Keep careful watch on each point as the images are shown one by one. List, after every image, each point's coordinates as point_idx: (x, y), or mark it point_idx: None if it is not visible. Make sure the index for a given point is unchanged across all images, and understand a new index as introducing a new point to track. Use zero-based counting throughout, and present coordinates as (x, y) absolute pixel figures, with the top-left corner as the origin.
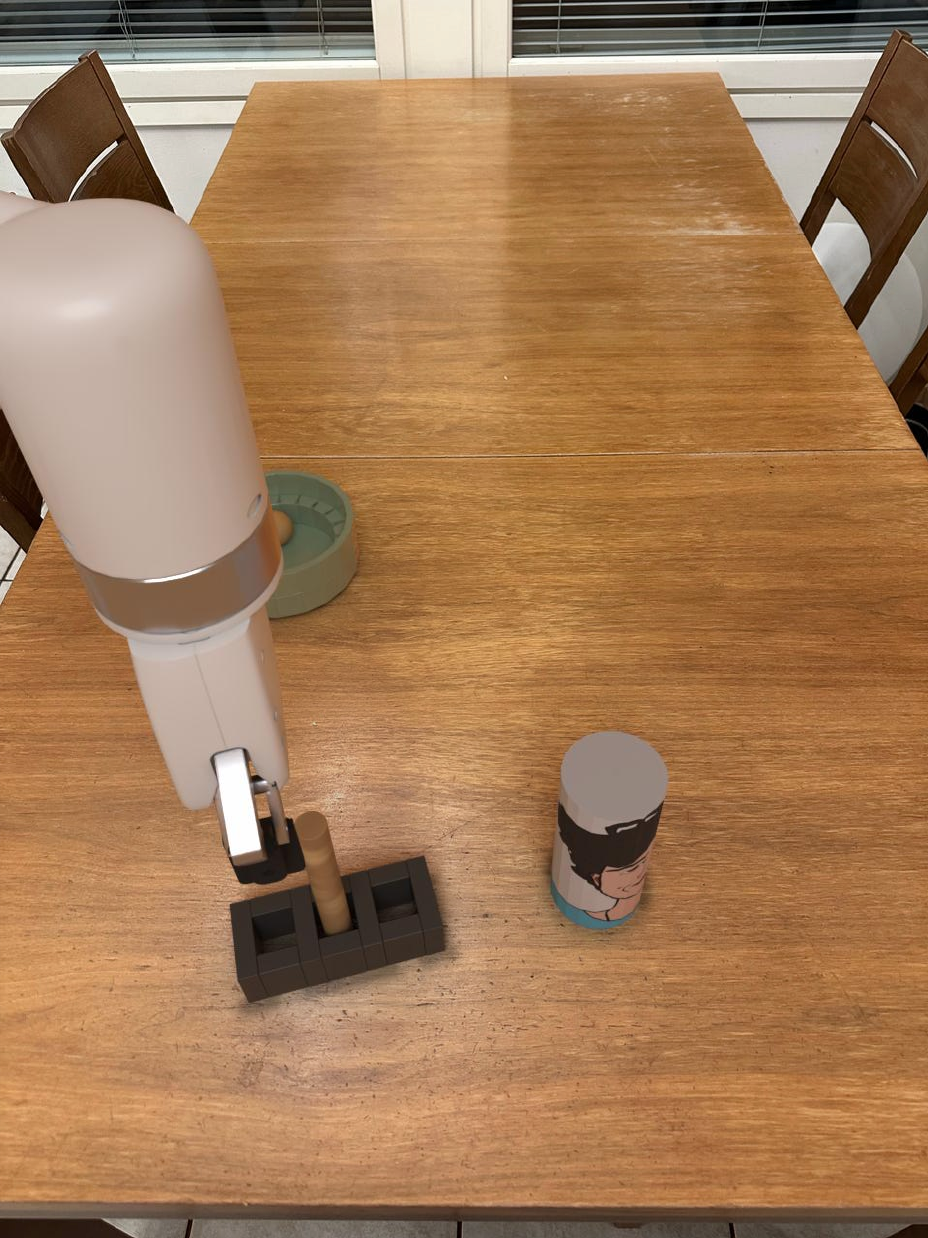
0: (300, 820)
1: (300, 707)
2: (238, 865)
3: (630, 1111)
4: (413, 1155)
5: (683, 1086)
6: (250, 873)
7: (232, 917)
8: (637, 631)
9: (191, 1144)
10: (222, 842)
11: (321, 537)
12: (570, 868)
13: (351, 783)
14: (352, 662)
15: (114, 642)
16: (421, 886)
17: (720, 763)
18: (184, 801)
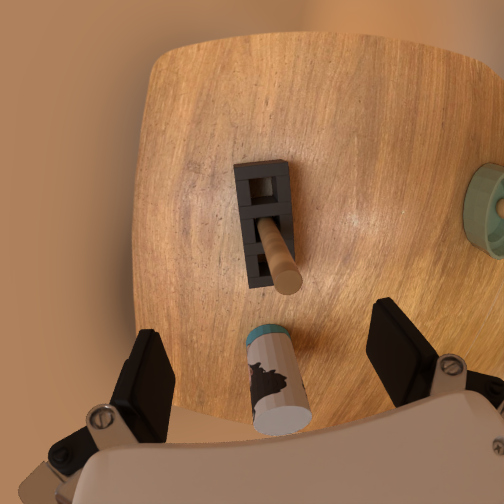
0: (294, 275)
1: (414, 205)
2: (34, 471)
3: (166, 335)
4: (149, 249)
5: (176, 353)
6: (119, 376)
7: (278, 163)
8: None
9: (162, 138)
10: (115, 401)
11: (492, 229)
12: (260, 361)
13: (361, 230)
14: (430, 237)
15: (467, 107)
16: None
17: (313, 387)
18: (77, 484)
